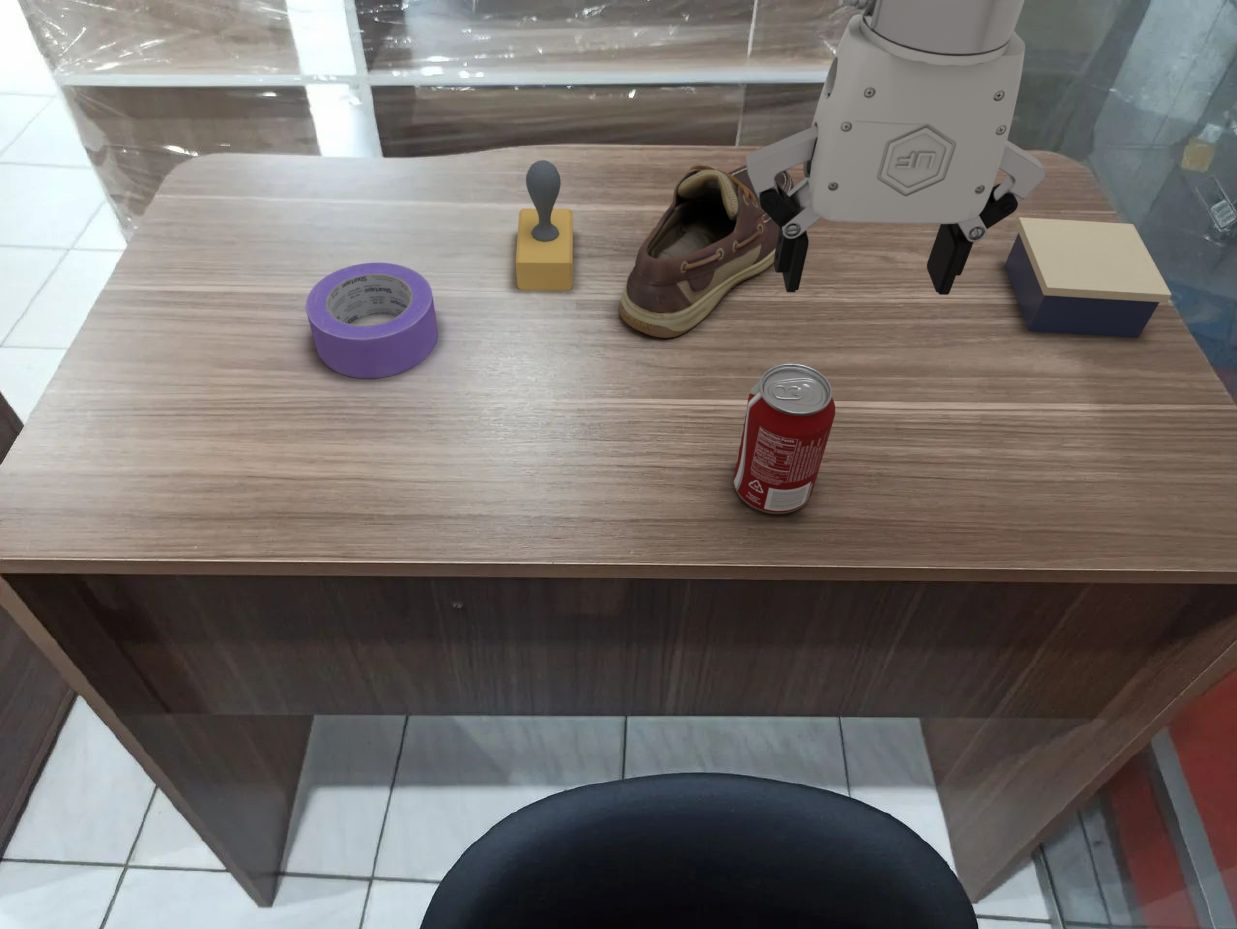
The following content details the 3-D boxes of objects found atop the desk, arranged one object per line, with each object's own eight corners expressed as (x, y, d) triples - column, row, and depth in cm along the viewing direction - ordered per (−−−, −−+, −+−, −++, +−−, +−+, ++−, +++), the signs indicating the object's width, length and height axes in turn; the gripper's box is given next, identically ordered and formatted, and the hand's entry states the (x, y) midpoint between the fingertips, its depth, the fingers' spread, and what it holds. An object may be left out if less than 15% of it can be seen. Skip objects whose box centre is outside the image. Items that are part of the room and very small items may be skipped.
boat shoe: (741, 185, 109) (754, 98, 101) (822, 218, 105) (842, 129, 97) (588, 313, 92) (589, 221, 84) (678, 357, 88) (687, 265, 80)
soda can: (815, 520, 75) (846, 420, 66) (734, 517, 75) (755, 417, 66) (806, 460, 80) (834, 359, 71) (730, 457, 80) (748, 356, 71)
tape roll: (411, 288, 94) (404, 248, 91) (457, 354, 88) (452, 313, 84) (300, 323, 90) (288, 283, 86) (340, 395, 84) (329, 355, 80)
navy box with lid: (1108, 270, 100) (1133, 223, 95) (1143, 341, 92) (1172, 294, 87) (999, 263, 100) (1018, 216, 95) (1024, 334, 92) (1047, 287, 88)
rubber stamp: (572, 291, 95) (571, 190, 86) (517, 291, 94) (510, 189, 85) (572, 236, 101) (571, 136, 92) (521, 235, 101) (514, 135, 92)
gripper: (780, 32, 43) (735, 315, 55) (1139, 41, 43) (1012, 320, 56) (762, -30, 48) (724, 243, 60) (1084, -21, 48) (979, 248, 61)
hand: (862, 280), depth 58 cm, fingers open, 9 cm apart
